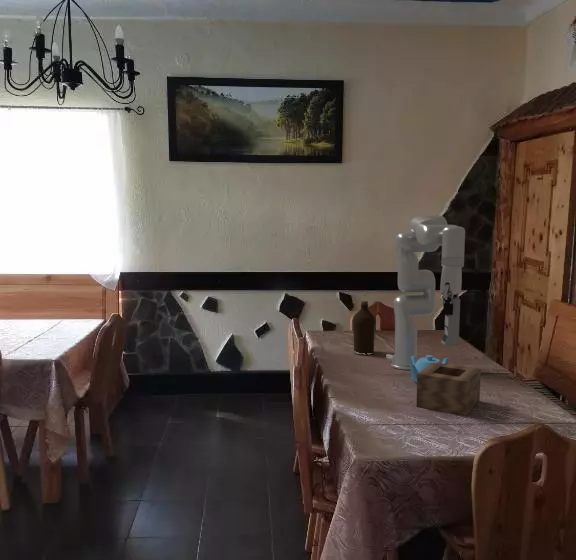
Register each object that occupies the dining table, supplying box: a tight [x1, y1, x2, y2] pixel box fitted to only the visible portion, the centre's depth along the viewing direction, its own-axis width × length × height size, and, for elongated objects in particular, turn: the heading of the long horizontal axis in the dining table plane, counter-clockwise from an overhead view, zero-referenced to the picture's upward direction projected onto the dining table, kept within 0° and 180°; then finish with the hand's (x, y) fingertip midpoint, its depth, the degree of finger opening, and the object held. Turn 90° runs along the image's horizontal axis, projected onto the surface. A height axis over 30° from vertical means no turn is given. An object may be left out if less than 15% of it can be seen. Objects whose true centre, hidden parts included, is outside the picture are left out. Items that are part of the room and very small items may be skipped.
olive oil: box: [352, 300, 377, 354], centre depth 284 cm, size 11×11×25 cm
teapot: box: [410, 354, 450, 384], centre depth 240 cm, size 15×15×11 cm
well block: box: [416, 362, 482, 417], centre depth 214 cm, size 18×18×12 cm
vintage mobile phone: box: [440, 295, 461, 347], centre depth 210 cm, size 4×5×25 cm
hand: (450, 312), depth 211 cm, fingers closed on vintage mobile phone, 5 cm apart
